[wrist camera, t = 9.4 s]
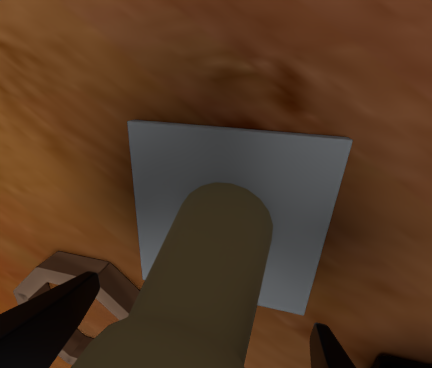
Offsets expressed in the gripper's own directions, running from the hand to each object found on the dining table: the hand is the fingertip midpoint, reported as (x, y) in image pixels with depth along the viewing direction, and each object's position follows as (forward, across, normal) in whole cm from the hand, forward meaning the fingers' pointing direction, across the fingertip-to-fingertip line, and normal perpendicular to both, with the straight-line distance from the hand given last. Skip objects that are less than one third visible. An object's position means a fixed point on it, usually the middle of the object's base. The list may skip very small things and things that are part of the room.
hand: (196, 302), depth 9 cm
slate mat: (+6, 0, 0) cm, 6 cm away
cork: (+6, 0, 0) cm, 6 cm away
